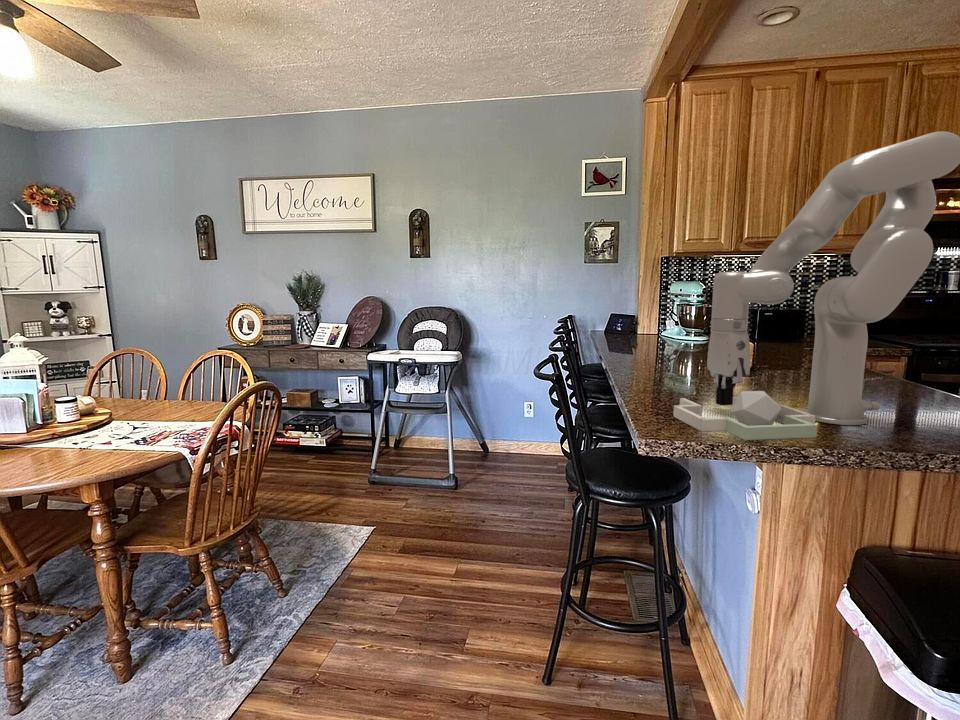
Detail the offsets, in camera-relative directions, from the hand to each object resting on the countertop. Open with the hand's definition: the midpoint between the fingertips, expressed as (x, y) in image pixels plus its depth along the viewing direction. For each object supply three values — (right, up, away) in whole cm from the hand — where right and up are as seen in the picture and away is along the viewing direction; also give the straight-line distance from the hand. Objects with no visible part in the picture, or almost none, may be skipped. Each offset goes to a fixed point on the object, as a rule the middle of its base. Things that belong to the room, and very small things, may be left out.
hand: (724, 404), depth 116 cm
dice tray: (+1, -3, -6) cm, 7 cm away
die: (+1, -4, -11) cm, 12 cm away
